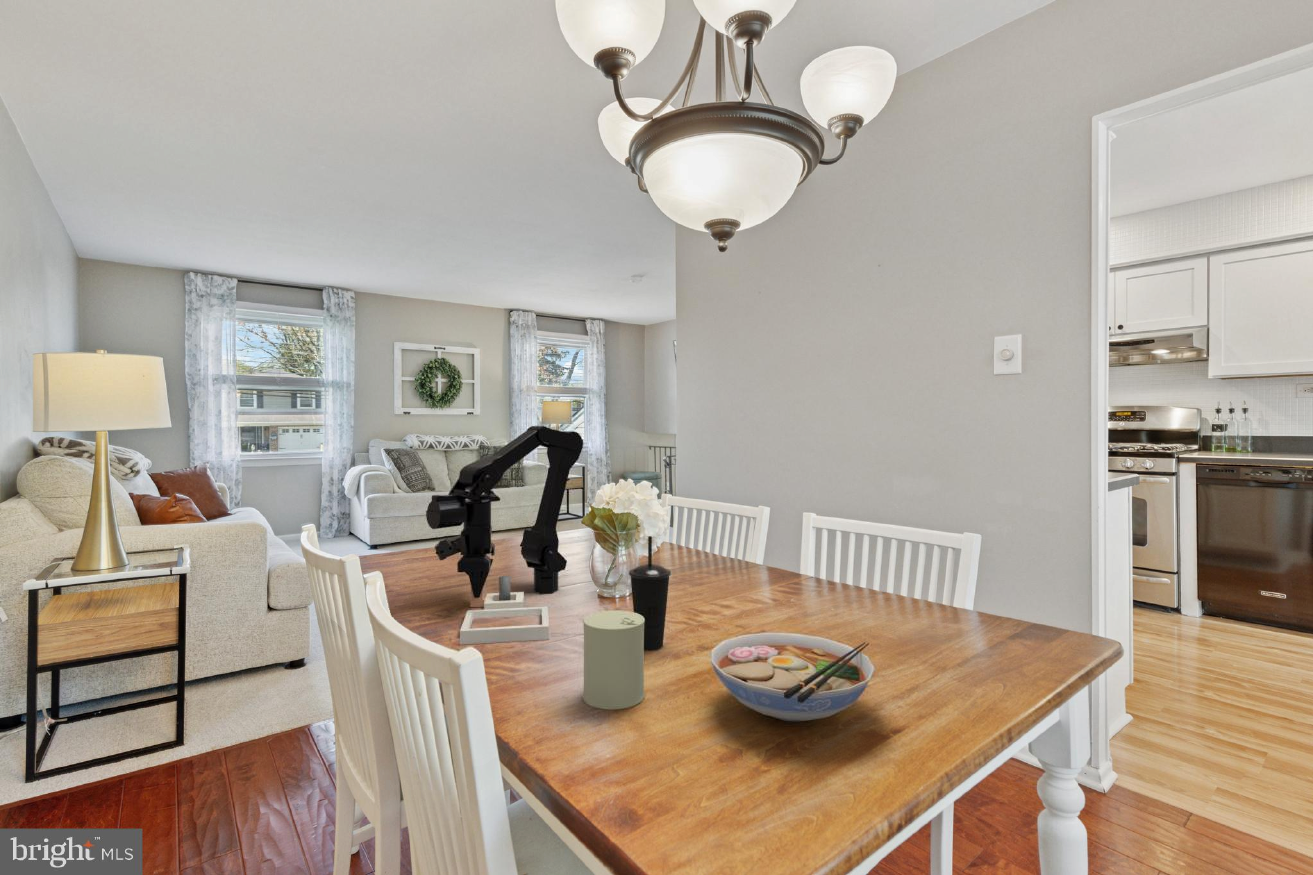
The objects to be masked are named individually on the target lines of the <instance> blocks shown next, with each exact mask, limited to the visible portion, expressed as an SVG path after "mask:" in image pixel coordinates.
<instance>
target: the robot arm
mask: <svg viewBox="0 0 1313 875" xmlns="http://www.w3.org/2000/svg"><path fill="white" fill-rule="evenodd" d="M538 447H543V448H546V456H547V459H548V464H549V466H548V470H547V474H546V479H545V483H544V487H543V492H542V495H541V500H540V503H539V508H538V512H537V515H536V519H535V523H534V524H533V526H532V527H531V529H524V530H523V534H522V540H521V543H520V544H519V547H520V548H521V549H520V555H522V558H523V560H524V561H525V563H526V566H527V568H532V569H533V592H534V593H538V594H539V595H553V594H555V593H556V592H557V591H559V572H561V571H565V570H566V566H567V564H568V561H567V559H566V558H565V557H564V556H563V555H562V554H561V553H560V551H559V546H560V545H559V542H560V540H559V536H558V532H557V526H558V521H559V520H558V519H559V517H560V512H561V510H562V509H561V507H562V504H563V500H564V495H565V491H566V487H567V483H568V480H569V475H570V470H571V469H572V468H573V467H574V465H575V464H576V462H577V461H578V460H579V458H580V455H581V453H582V450H583V448H584V439H583V438H582V436H581V434H580V433H578V432H577V431H571V430H568V431H565V430H564V431H561V430H557V429H553V428H550V427H547V426H546V425H531V426H529V427H528V428H526V430H525V431H524V432H523V433H521V434H520V435H518V436H517V437H516V438H514V439H513V440H512V441H510V442H508V443H507V444H506V445H504V446H503V447H501V448H500V449H498V450H497V451H496V452H494V453H493V454H491V455H490V456H488V457H484V458H480V459H478V460H475V461H474V462H471V463H469V464H467V465H465V466H463V467H462V468H461V469H460V471H459V475H458V478H457V480H456V481H455V483H454V485H453V486H452V488H451V489H450V491H449V492H448V494H444V495H443V494H441V495H440V494H433V495H431V501H430V502H429V503H428V506H427V508H426V509H427V510H426V511H425V517H426V518H425V519H426V522H427V524H428V527H430V528H431V529H432V530H438V529H439V530H440V529H444V528H445V529H446V528H454V527H460V526H462V525H463V526H462V527H463V528H462V530H461V531H460V534H459V535H456V536H453V537H451V538H448V537H447V538H445V539H443V540H441V539H440V540H439V541H438V543H437V544H436V545H434V548H435V554H436V555H437V556H438V560H439V561H444V560H446V559H447V558H449V557H452V556H455V555H456V554H460V556H461V557H460V558H459V559H458V562H457V564H456V565H457V567H456V568H457V572H456V573H465V574H466V575H467V576H468V579H469V583H470V588H471V587H472V591H473V595H474V598H479V597H480V595H481V592H482V589H483V587H485V583H486V581H487V578H488V576H489V573H490V570H491V569H492V564H493V562H494V559H493V558H491V557H492V556H495V554H496V551H495V550H496V545H495V543H493V542H492V532H493V531H492V530H493V526H492V502H500V501H501V497H499V496H498V495H496V493H495V492H494V490H493V489H494V488H495V487H496V486H497V485H498V484H499V483H500V482H501V481H502V478H503V476H504V474H505V473H506V472H507V471H508V470H509V469H511V467H513V466H514V465H516V464H517V463H519V462H520V461H521V460H522V459H524V458H525V457H526V456H528V455H529V454H530V453H532V452H533V451H535V450H536V449H537V448H538ZM490 554H491V557H489V556H488V555H490Z"/></svg>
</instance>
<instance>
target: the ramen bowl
mask: <svg viewBox="0 0 1313 875" xmlns="http://www.w3.org/2000/svg"><path fill="white" fill-rule="evenodd" d="M869 644H870V643H869V642H868V643H866V641H865V642H863V643H861V644H860V645H858V646H857V647H855V648H854V647H852V646H850V645H847V644H845V643H841V642H839V641H835V640H832V639H829V638H826V637H821V636H814V635H807V634H801V633H790V632H789V633H787V632H760V633H759V632H758V633H750V634H742V635H738V636H736V637H732V638H728V639H724V640H722V641H720V643H718V644H717V645H715V646H714V648H712V649H711V651H710V664H711V665H712V669H713V671H714V673H715V674H716V676H717V677H718V679H719V680H720V682H721V684H722V685H723V686H724V687H725V688H726V689H727V690H728V691H729V693H730V694H731V695H732V696H734V698H735V699H736V700H737V701H738V702H740V703H741V704H742V705H744V706H746V707H747V708H749V709H752V710H754V711H755V712H758V713H760V714H762V715H764V716H768V717H772V718H774V719H777V720H781V721H784V722H785V721H786V722H804V721H805V722H806V721H812V720H819V719H825V718H829V717H831V716H833V715H836V714H837V713H840V712H841V711H844V710H846V709H848V708H850V707H851V706H852V705H853V704H855V702H857V701H858V699H859V698H860V697H861V695H863V692H865V690H866V688H867V687H868V684H869V682H870V681H871V678H872V676H873V674H874V672H875V670H876V667H875V666H874V664H873V662H872V661H871V659H870V657H869V656H868V655H866V654H864V653H863V652H862V651H864V649H865V648H866V647H867V646H869Z"/></svg>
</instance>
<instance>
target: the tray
mask: <svg viewBox="0 0 1313 875" xmlns="http://www.w3.org/2000/svg"><path fill="white" fill-rule="evenodd" d="M548 610H549V608H548V606H531V607H526V608H508V609H487V610H482V609H472V610H471V609H470V610H467V611H466V613H465V616H464V620H463V622H462V624H461V627H460V629H459V645H460V646H461V645H479V644H494V643H496V644H498V643H512V642H515V643H516V642H530V641H546V640H550V627H549V626H550V625H549V624H550V622H549V611H548ZM528 616H529V617H530V616H541V624H531V625H530V624H529V625H513V626H512V625H511V626H495V627H494V626H493V627H492V626H491V627H477V628H476V627H473V628H472V627H471V626H472V623H473V620H474V619H490V618H491V619H492V618H493V619H494V618H510V617H512V618H513V617H528Z"/></svg>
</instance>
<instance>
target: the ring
mask: <svg viewBox="0 0 1313 875" xmlns="http://www.w3.org/2000/svg"><path fill="white" fill-rule="evenodd" d="M484 587H485V586H484ZM484 587H483V589H482V592H481V595H480V597H479V598H474V595H473V591H472V587H471V586H470V608H483V607H484V610H487V609H508V608H523V604H524V598H525V593H524V592H525V591H515V592H510V600H509V601H499V592H496V593H495V592H493V593H486V596H484V595H485V593H484Z"/></svg>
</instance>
